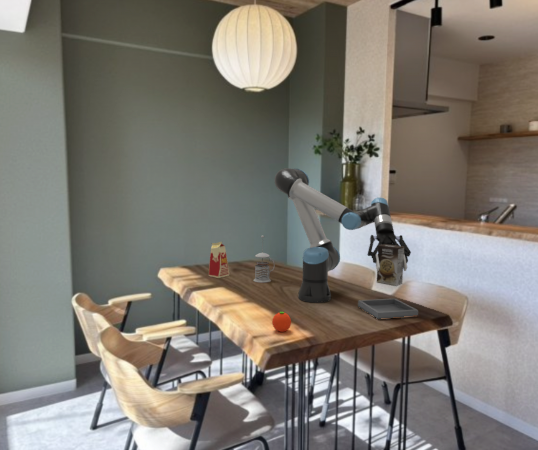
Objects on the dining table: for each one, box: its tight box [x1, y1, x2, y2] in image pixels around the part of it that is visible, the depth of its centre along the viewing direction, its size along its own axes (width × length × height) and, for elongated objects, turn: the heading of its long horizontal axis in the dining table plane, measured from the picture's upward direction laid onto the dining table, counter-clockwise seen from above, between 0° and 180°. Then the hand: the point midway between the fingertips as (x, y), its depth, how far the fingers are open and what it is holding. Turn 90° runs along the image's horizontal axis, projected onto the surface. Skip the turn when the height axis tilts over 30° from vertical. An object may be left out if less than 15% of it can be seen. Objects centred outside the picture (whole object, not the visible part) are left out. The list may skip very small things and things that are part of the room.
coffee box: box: [376, 244, 404, 287], centre depth 180 cm, size 9×6×16 cm
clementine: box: [271, 311, 292, 333], centre depth 158 cm, size 8×7×7 cm
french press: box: [253, 235, 276, 283], centre depth 236 cm, size 10×12×25 cm
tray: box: [357, 297, 419, 320], centre depth 183 cm, size 18×18×3 cm
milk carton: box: [208, 241, 230, 279], centre depth 246 cm, size 9×9×20 cm
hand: (392, 269), depth 178 cm, fingers closed on coffee box, 10 cm apart
